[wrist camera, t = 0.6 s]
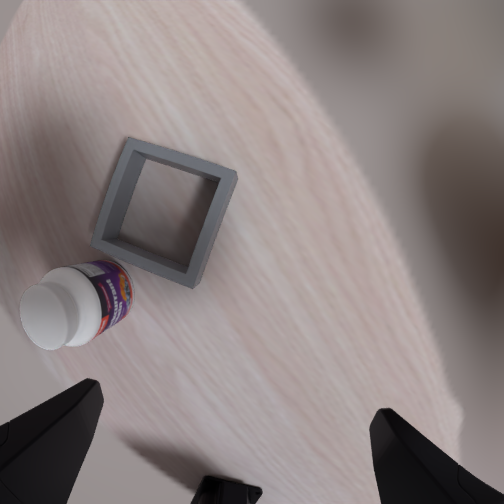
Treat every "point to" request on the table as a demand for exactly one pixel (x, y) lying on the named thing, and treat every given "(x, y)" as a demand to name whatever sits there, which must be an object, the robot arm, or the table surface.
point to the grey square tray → (122, 194)
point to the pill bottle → (76, 303)
